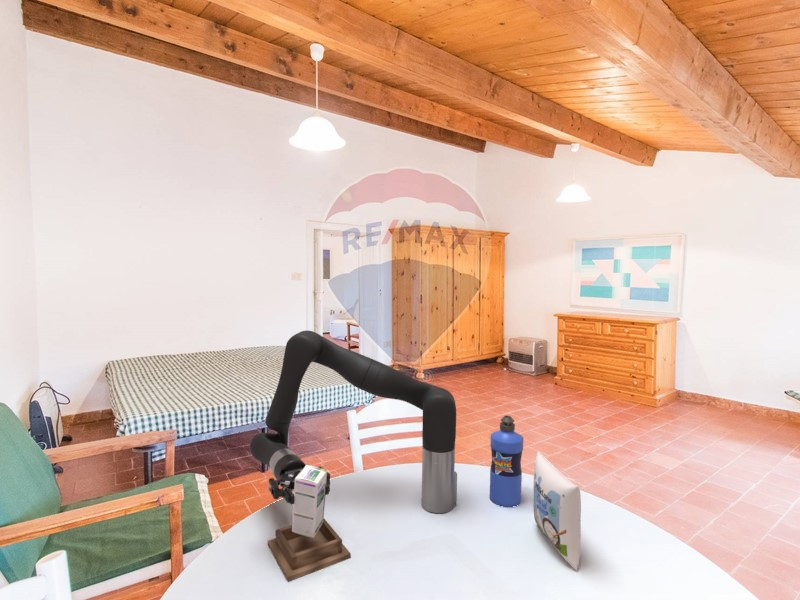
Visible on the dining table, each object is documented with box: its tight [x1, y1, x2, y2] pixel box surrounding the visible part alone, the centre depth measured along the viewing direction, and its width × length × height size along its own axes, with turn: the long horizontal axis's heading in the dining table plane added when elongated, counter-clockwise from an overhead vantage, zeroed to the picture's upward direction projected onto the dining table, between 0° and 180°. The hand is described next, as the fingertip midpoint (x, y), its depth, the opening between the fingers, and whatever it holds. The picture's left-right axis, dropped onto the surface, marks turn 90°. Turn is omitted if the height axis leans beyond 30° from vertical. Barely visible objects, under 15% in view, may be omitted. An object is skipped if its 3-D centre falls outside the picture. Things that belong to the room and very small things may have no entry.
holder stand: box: [267, 518, 352, 583], centre depth 105 cm, size 15×15×4 cm
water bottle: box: [489, 415, 524, 508], centre depth 129 cm, size 9×9×25 cm
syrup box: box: [291, 464, 328, 538], centre depth 103 cm, size 6×6×14 cm
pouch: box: [532, 451, 582, 572], centre depth 108 cm, size 8×19×20 cm, turn 5°
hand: (310, 495), depth 102 cm, fingers closed on syrup box, 8 cm apart
